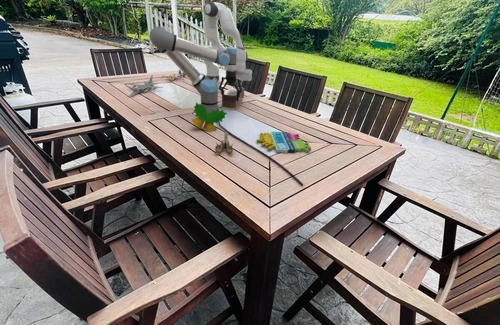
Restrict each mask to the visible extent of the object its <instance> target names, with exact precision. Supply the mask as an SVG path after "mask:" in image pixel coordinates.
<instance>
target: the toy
mask: <svg viewBox="0 0 500 325" xmlns="http://www.w3.org/2000/svg"><path fill="white" fill-rule="evenodd" d="M181 77H182V78H181ZM184 77H187V76H186V75H185V74H184V73H183V72H182V70H181V69H179V70H178V73H172V74H170V75H168V76H167V75H166V76H165V75H161V78H162V79H164V78H166V80H168V81H170V82H173V81H174V80H179V81H180V80H182V81H184V82H185V80H186V78H184Z"/></svg>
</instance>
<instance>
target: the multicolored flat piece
mask: <svg viewBox="0 0 500 325" xmlns="http://www.w3.org/2000/svg"><path fill="white" fill-rule="evenodd" d="M299 136H300V135H299V134H298V133H296V134H294V133H291V132H287V131H270V132H264V133H263V132H260V133H259V139H258V138H257V139H256V143H257V144H261V148H263V147H264V148H265V149H267V151H268V152H271V151H272V150H273V149H275V152H276V153H283V154H285V153H287V154H288V153H290V154H293V153H296V152H298V153H301V152H305V153H310V151H311V150H312V149H311V148H312V146H309V142H304V141H303V139H302V138H299Z"/></svg>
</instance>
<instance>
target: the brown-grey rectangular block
mask: <svg viewBox="0 0 500 325" xmlns="http://www.w3.org/2000/svg"><path fill="white" fill-rule="evenodd" d="M239 90H240V89H239ZM237 92H238V91H237V90H236V89H233V87H229V88H228V89H227V90H224V93H223V94H222V95H221V108H222V109H227V110H233V111H235V110H237V109H238V108H239V107H240V106H241V105H242V103H243V98H242V92H240V97H239V101H237Z"/></svg>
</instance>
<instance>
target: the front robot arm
mask: <svg viewBox="0 0 500 325" xmlns="http://www.w3.org/2000/svg"><path fill="white" fill-rule="evenodd" d="M149 40H150V42H151V43H152V45H153V46H154V47H156V49H158V50H159V52H161V54H164V55H166V56H167V57H168V58H169V59H170V60H171V61H172V62H173V63H174V64H175V65H176V66H177V68H179V70H181V72H182V74H183V73H184V74H185V75H186V76H185V77H187V78H188V79H189V80H190V81H191V86H193V87H194V89H195V90H196V91H197V92H198V93H199V94H200V104H201V106H204V109H206V112H208V113H211V112H212V110H214V111H216V110H217V109H219V111H221V110H220V108H219V102H218V99H219V98H218V97H219V92H218V84H217V82H216V81H214V80H210V79H208V78H207V77H206V74H205V73H203V72H200V70H198V68H197V67H196V66H195V65H194V64H193V63H192V61H191V60H190V59H189V58H188V57H187V56H186V55H188V56H192V57H195V58H198V59H201V60H203V59H204V60H208V61H211V62H213V63H215V64H217V65H219V66H223V67H225V76H221V80H220V81H221V83H220V86H219V90H221V91H220V95H221V96H222V94H223V93H224V92H225V90H224V89H225V88H226V86H227V85H229V84H232V85H233V87H235V88H236V90H237V91H238V92H237V101H239V97H240V92H242V91H243V90H242V88H243V87H242V83H241V80H240V78H239V79H237V78H236V71H235V70H236V59H237V49H236V47H233V46H227V47H225V48H226V50H225V51H219V50H213V49H210V48H207V47H204V46H205V45H201V44H199V43H195V42H192V41H190V40H189V41H188V40H186V39H184V38H180V37H179V36H178V35H177V34H174V33H171V32H170V31H168V30H166V28H164V27H162V26H155V27H153V28H151V30H150V32H149ZM236 80H237V81H236ZM237 82H238V83H237ZM222 85H223V86H222ZM238 87H239V88H238ZM239 89H240V90H239ZM208 113H207V115H208ZM217 125H219V127H220V128H221V129H223V130H224V131H225V132H228V135H231V136H232V137H233V138H235V139H237V140H238V141H240V142H242V143H243V144H245V145H247V146H248V147H250V148H251V149H254V150H255V151H257V152H258V153H260V154H262V155H263V156H264V157H266V158H268V159H269V160H270V161H272V162H274V163H275V164H276V165H277V166H279V167H280V168H281V169H283V170H284V171H285V172H286V173H287V174H289V175H290V176H291V177H292V178H293V179H294V180H295V181H297V183H298V184H300V186H304V184H303V182H302V181H301V180H299V178H297V177H296V176H295V175H294V174H293V173H292V172H291V171H289V170H288V168H286V167H284V166H283V165H282V164H281V163H279V162H278V161H277V160H275V159H274V158H272V157H271V156H270V155H268V154H267V153H264V152H263V151H261V149H258V148H257V147H255V146H253V145H251V144H249V143H248V142H246V141H245V140H243V139H241V138H240V137H238V136H236V135H235V134H233V133H232V132H231V131H229V130H228V129H226V128H225V127H224V126H223V125H221V121H219V122H218V123H217Z"/></svg>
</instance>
